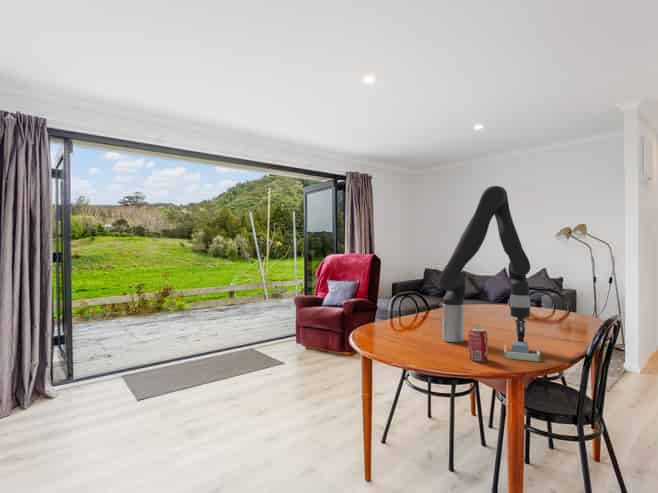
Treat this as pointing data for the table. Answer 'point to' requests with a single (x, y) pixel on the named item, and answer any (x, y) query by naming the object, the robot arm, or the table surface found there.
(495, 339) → the table surface
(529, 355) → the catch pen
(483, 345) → the soda can
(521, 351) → the pale blue cube
